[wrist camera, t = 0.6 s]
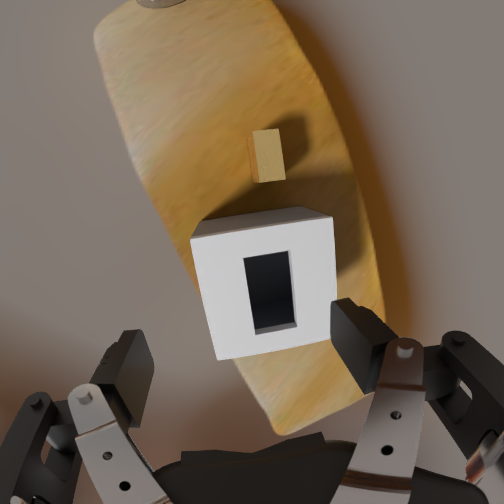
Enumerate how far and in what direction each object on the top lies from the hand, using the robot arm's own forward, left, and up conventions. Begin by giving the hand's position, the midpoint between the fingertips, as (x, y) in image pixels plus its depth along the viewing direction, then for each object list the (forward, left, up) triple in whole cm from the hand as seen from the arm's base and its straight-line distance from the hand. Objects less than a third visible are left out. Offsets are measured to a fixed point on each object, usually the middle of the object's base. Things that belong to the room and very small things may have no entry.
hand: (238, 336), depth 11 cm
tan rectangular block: (-8, +5, -19) cm, 21 cm away
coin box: (+4, +3, -22) cm, 23 cm away
